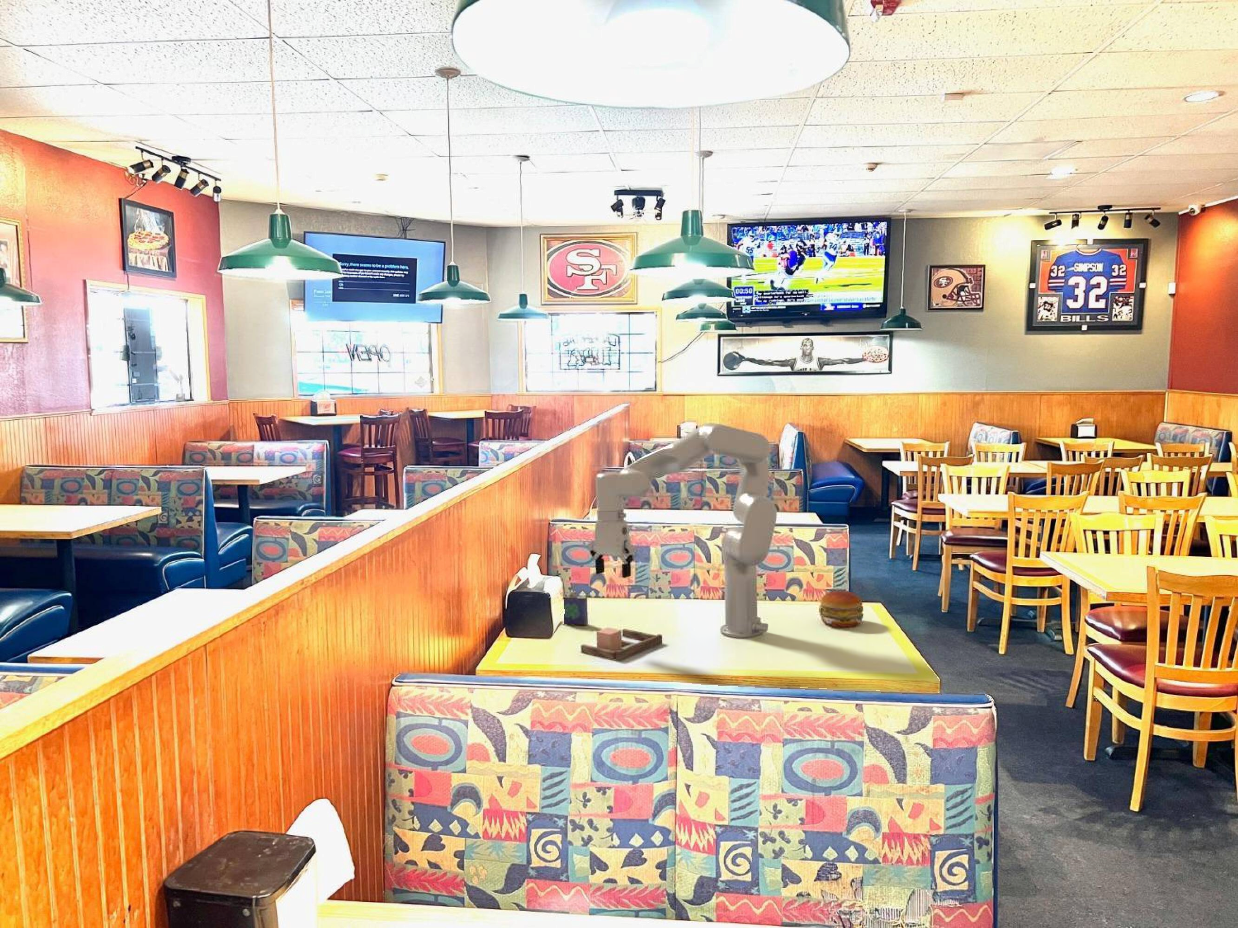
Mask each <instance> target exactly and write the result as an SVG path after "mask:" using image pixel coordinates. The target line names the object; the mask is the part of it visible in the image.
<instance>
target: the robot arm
mask: <svg viewBox="0 0 1238 928" xmlns="http://www.w3.org/2000/svg"><path fill="white" fill-rule="evenodd" d="M770 453H771V445H770V441H769V440H768V439H767V437H765V435H763V434H761V433H758V432H753V431H749V430H744V429H740V428H736V427H731V426H729V425H724V424H722V423H712V422H711V423H710V422H708V423H705V424H702V425H700V426H698V427H697V428H696V429H694V430H692V431H690V432H689V433H687V434H686V435H683V436H682V437H681V438H679V439H676V440H675V441H674V442H672V443H670V444H668V445H666V446H664V447H662V448H659V449H658V450H656V451H654V452H651V453H649V454H646V455H645V456H643V457H641V458H639V459H637V460H636V461H634V462H632V463H631V464H629V465H627V466H626V467H624V468H623V469H621V470H620V472H617V471H616V472H614V471H607V472H606V471H605V472H601V473H600V472H599V473H598V474H597V475H596V477H595V495H596V516H597V517H596V518H597V520H596V521H595V526H594V540H593V541H591V542H589V543H587V548H588V551H590V553H589V554H590V555H591V556H592V558H593V560H594V562H595V574H596V575H600V574H604V573H605V560H604V558H603V557H604V556H608V557H616V558H619V559H620V560H621V562H622V564H621V576H622V579H626V578H629V577H631V575H632V569H631V566H632V562H633V561H634V559H636V555H637V552H638V548H636V547H635V546H634V545H633V544H631V536H630V530H629V526H628V521H627V520H625V518H626V517H627V513H626V512H624V498H643V497H645V496H646V495H647V494H649V493H650V491H651V489H652V481H653V480H655V479H658V478H660V477H663V476H666V475H672V474H678V473H681V472H683V471H686V470H687V469H689V468H690V467H692V466H694V465H695V464H697V463H699V462H700V461H702V460H704V459H706V458H708V457H709V456H711V455H713V454H716V455H719V456H722V457H723V456H725V457H728V458H729V459H730V458H731V459H735V460H736V462H737V464H738V466H739V470H740V471H739V474H740V475H739V481H738V486H737V490H736V494H735V499H734V503H733V507H732V508H733V509H732V512H733V515H734V518H735V519H736V520H737V521H739V522H740V523H742V524H743V525H742V527H741V526H736V527H732V528H729V530H727V531H726V532H725V533H724V535H723V536H722V538H721V539H722V540H721V554H722V558H723V568H724V611H725V614H724V615H725V616H724V617H725V624H723V625H722V626H720V629H719V630H720V633H721V634H722V635H724V636H726V637H727V636H728V637H731V638H740V639H741V638H743V639H744V638H745V639H746V638H754V637H758V636H760V635H762V634H763V633H767V632H768V630H769V629H768V628H769V623H767V622H766V623H764V622H762V619H761V618H762V617H758V572H757V566H758V565H760V564H762V563H763V562H764V561H765V559H767V556H768V555H769V553H770V549H771V545H772V542H773V537H774V532H775V527H776V524H777V523H776V522H777V514H778V513H777V508H776V505H775V503H774V501H773V500H772V499H770V498H769V497H767V494H768V493H767V492H768V485H769V481H770V466H769V464H768V461H767V458H768V456H769V455H770Z"/></svg>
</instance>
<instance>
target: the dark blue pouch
mask: <svg viewBox="0 0 1238 928" xmlns="http://www.w3.org/2000/svg"><path fill="white" fill-rule="evenodd" d="M576 593H577V591H576V590H571V591H570V594H568V593H565V594H563V595H564V598H563V599H564V609H565V614H564V624H567V626H580V627H581V626H582V627H583V626H584V627H585V626H588V624H589V620H588V614H589V613H588V597H587V596H579V595H578V596H577V595H576ZM564 624H563V625H564Z"/></svg>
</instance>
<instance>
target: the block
mask: <svg viewBox="0 0 1238 928" xmlns="http://www.w3.org/2000/svg"><path fill="white" fill-rule="evenodd" d="M622 637H623V636H622V630H621V629H616V628H613V627H605V628H603V629H599V630H598V631H597V630H596V647H598V648H602V649H606V650H611V651H615V652H616V651H618V650H621V648H622V640H623V639H622Z"/></svg>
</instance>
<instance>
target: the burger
mask: <svg viewBox="0 0 1238 928" xmlns="http://www.w3.org/2000/svg"><path fill="white" fill-rule="evenodd" d="M819 602H820V603H819V604H820V605H819V606H818V613H819V616H820V619H821V621H822V622H823V623H824V624H826V625H828V626H832V627H840V628H848V627H855V626H858V625H860V624H861V623H862V621H863V618H864V613H863V612H864V606H863V600H862V599H861V598H860V596H859V595H857V594H855V593H853V592H851V591H847V590H835V591H829V592H828V593H826V594H824V595H823V596H822V597H821V599H820V601H819Z"/></svg>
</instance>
